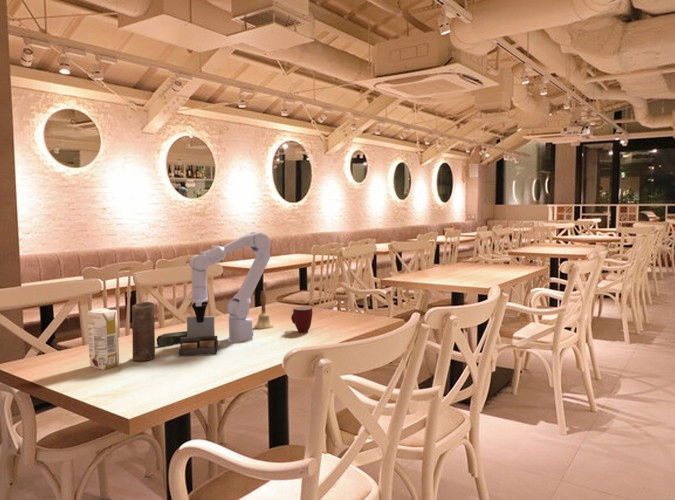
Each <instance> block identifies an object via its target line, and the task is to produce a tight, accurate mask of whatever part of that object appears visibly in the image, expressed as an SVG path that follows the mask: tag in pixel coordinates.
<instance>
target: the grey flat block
mask: <svg viewBox="0 0 675 500" xmlns="http://www.w3.org/2000/svg"><path fill="white" fill-rule="evenodd" d="M186 331H187V337H200V336H216V335H215V333H216V332H215V316H214V315H207V316H206V315H205V316H204V321H203V323H197V319H196V316H187V317H186Z"/></svg>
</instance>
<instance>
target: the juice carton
mask: <svg viewBox="0 0 675 500" xmlns="http://www.w3.org/2000/svg"><path fill="white" fill-rule="evenodd" d="M118 325H119V324H118V311H117V309H109V308H105V307H103V308H96V309H92V310H88V311H87V330H88V331H87V332H88V334H87V336H88V353H89V365H90V368H94V369H97V370H101V371H102V370H103V371H104V370H107V369H111V368H114V367H118V366H119V365H120V352H119V351H120V349H119V346H120V345H119V327H118Z"/></svg>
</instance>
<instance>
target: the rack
mask: <svg viewBox="0 0 675 500" xmlns="http://www.w3.org/2000/svg"><path fill="white" fill-rule="evenodd" d="M213 340H214V347H202V348H200V341H213ZM218 341H219V340H218V335H215V336H200V337H181V343H180V346H179V349H178V357H189V356H190V357H191V356H206V355H207V356H208V355H209V356H210V355H211V356H212V355H217V354H218V350H219V349H218V348H219V345H218ZM183 343H197V348H184V349H182V344H183Z"/></svg>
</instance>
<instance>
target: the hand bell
mask: <svg viewBox="0 0 675 500" xmlns="http://www.w3.org/2000/svg"><path fill="white" fill-rule="evenodd" d="M260 292H261V293H260V294H259V295H260V297H259V299H260V300H259V301H260V304H261V305H260V306H261V313H260V314H258V318H257V319H258V320H257V322H256V324H254V326H253V327H254V328H255V329H259V330H264V329H265V330H267V328H268V329H272V328H274V325H273V323H272V322H271V319H270V315H269V314H268V313H267V311H266V302H267V296H266V293H265V291H264V290H261V291H260Z"/></svg>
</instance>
